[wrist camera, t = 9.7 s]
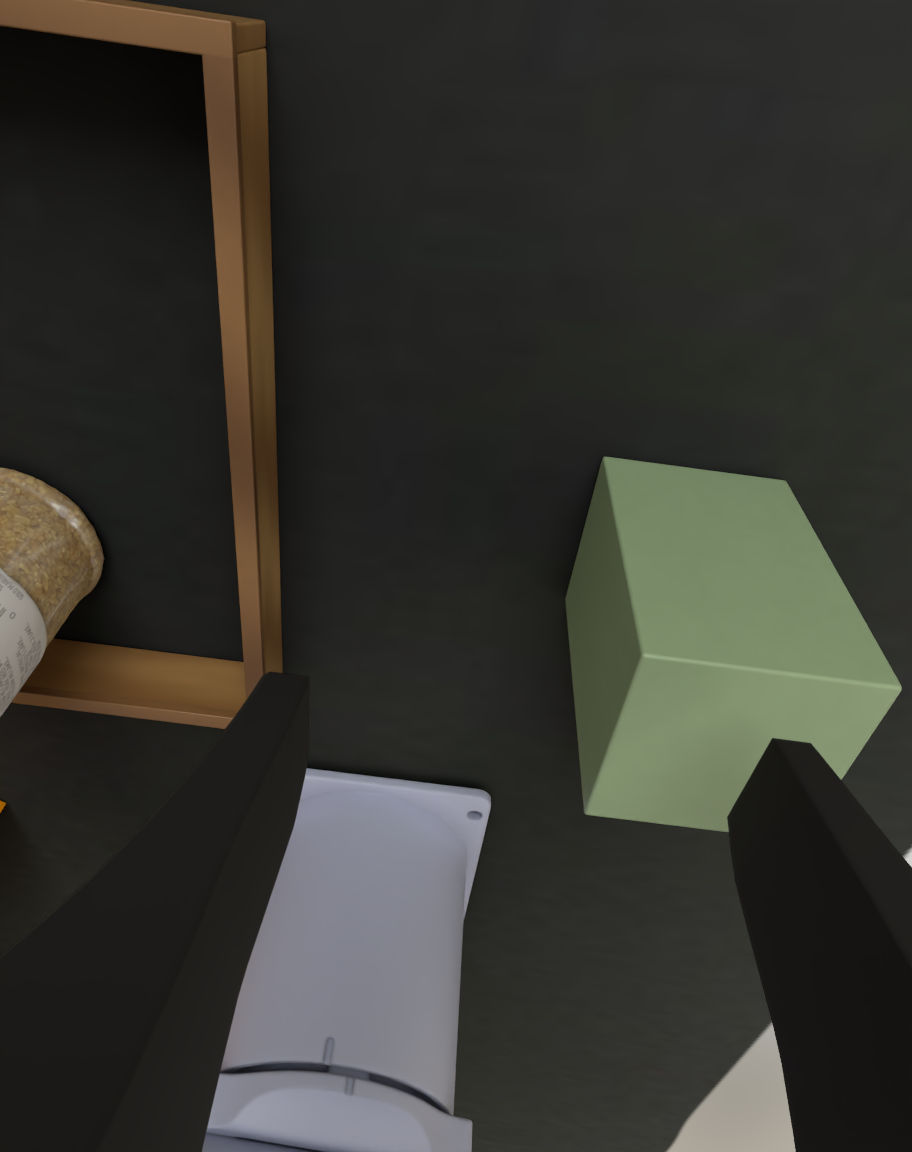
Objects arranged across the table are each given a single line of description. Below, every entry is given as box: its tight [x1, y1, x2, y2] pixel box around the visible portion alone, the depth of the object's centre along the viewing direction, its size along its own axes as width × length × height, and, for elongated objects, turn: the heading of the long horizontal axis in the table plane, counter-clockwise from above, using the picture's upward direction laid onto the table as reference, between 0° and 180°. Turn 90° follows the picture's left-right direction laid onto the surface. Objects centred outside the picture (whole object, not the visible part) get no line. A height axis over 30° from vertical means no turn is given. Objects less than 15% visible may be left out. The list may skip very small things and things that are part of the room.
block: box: [565, 457, 902, 832], centre depth 17 cm, size 4×4×7 cm
